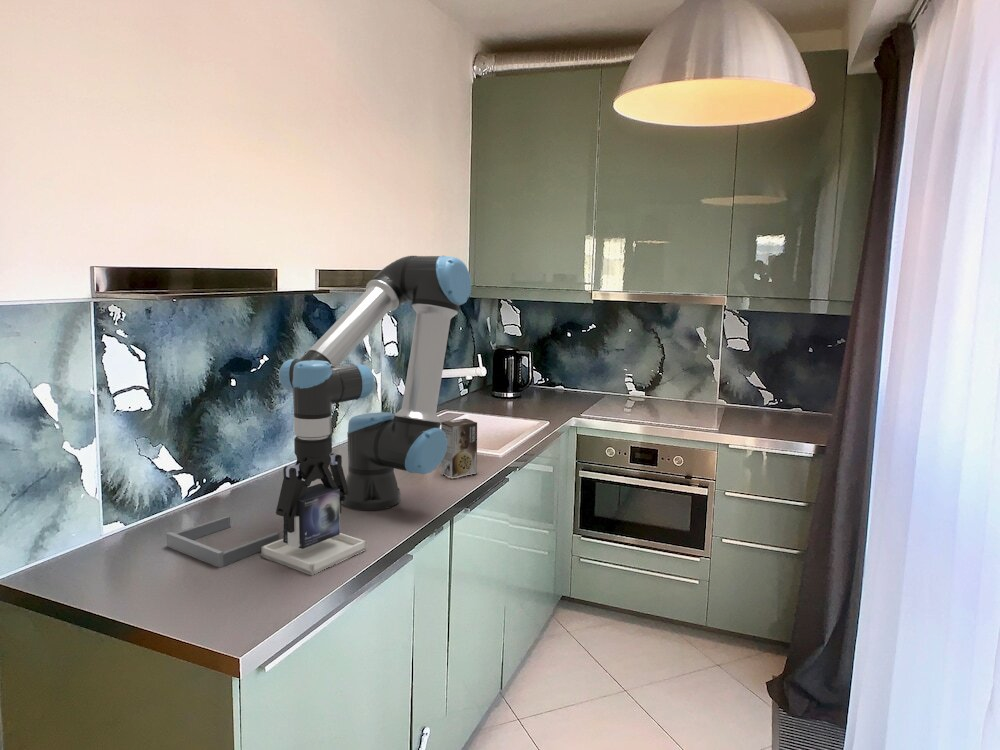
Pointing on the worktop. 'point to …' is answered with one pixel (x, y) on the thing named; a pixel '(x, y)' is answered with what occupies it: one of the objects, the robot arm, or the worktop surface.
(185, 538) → the bay
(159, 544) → the worktop surface
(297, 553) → the tray
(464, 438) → the coffee box
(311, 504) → the small box
